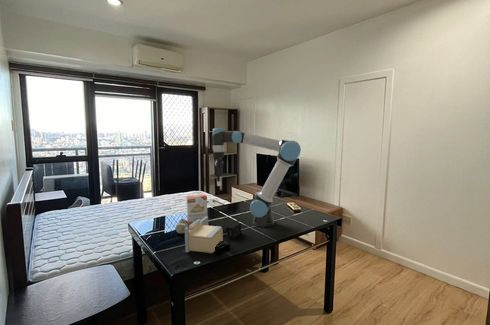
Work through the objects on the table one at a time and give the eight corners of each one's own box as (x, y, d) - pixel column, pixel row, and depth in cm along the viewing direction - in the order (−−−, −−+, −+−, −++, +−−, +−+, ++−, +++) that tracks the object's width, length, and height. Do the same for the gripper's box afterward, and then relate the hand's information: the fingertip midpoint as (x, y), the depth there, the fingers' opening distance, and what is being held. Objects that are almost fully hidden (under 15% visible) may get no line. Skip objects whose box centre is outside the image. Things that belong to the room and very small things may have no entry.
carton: (228, 234, 164) (227, 214, 163) (211, 255, 137) (210, 231, 136) (206, 232, 168) (205, 212, 167) (185, 252, 141) (184, 228, 140)
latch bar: (200, 221, 156) (200, 219, 155) (191, 228, 144) (191, 226, 144) (198, 221, 156) (198, 218, 156) (188, 228, 145) (188, 225, 144)
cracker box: (188, 226, 180) (187, 197, 177) (187, 223, 185) (186, 195, 183) (207, 224, 185) (207, 195, 182) (206, 221, 190) (205, 193, 188)
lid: (221, 228, 154) (221, 223, 154) (211, 238, 139) (211, 233, 138) (200, 226, 158) (200, 221, 157) (187, 236, 142) (187, 231, 142)
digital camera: (233, 231, 170) (233, 221, 169) (241, 233, 167) (240, 222, 166) (225, 237, 161) (225, 226, 160) (233, 239, 158) (232, 228, 157)
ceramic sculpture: (171, 221, 165) (177, 215, 179) (171, 235, 165) (177, 227, 180) (188, 221, 165) (192, 215, 180) (188, 234, 165) (192, 227, 180)
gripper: (216, 150, 180) (217, 183, 182) (209, 152, 167) (210, 187, 170) (226, 150, 178) (227, 184, 180) (220, 152, 165) (221, 188, 168)
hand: (219, 185), depth 175 cm, fingers closed
